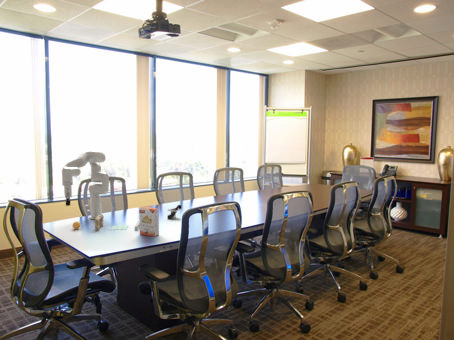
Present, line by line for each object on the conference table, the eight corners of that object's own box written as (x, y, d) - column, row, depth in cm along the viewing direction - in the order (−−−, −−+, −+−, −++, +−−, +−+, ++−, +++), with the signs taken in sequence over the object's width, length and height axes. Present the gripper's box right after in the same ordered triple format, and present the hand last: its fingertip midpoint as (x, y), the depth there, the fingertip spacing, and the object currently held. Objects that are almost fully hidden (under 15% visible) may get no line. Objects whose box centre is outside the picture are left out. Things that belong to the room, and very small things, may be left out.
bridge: (95, 230, 293) (94, 218, 292) (99, 226, 308) (99, 214, 307) (99, 230, 293) (98, 218, 292) (103, 226, 308) (103, 214, 307)
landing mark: (112, 226, 308) (112, 225, 308) (128, 225, 309) (128, 225, 309) (109, 229, 295) (109, 229, 295) (126, 229, 296) (126, 229, 296)
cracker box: (139, 234, 280) (138, 207, 278) (144, 232, 286) (143, 206, 284) (154, 236, 274) (154, 209, 272) (159, 234, 280) (158, 207, 278)
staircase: (167, 219, 334) (167, 206, 333) (173, 217, 343) (173, 204, 342) (175, 220, 330) (175, 207, 328) (181, 218, 339) (181, 205, 338)
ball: (73, 228, 301) (73, 220, 301) (81, 227, 302) (81, 220, 301) (71, 229, 295) (71, 222, 295) (79, 229, 296) (79, 222, 295)
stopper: (138, 224, 313) (138, 220, 313) (140, 224, 314) (140, 220, 313) (134, 230, 294) (134, 226, 293) (137, 230, 294) (137, 226, 293)
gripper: (72, 184, 286) (73, 206, 288) (72, 182, 302) (73, 202, 303) (62, 184, 283) (62, 206, 285) (62, 182, 299) (63, 203, 301)
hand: (68, 204), depth 294 cm, fingers open, 9 cm apart
